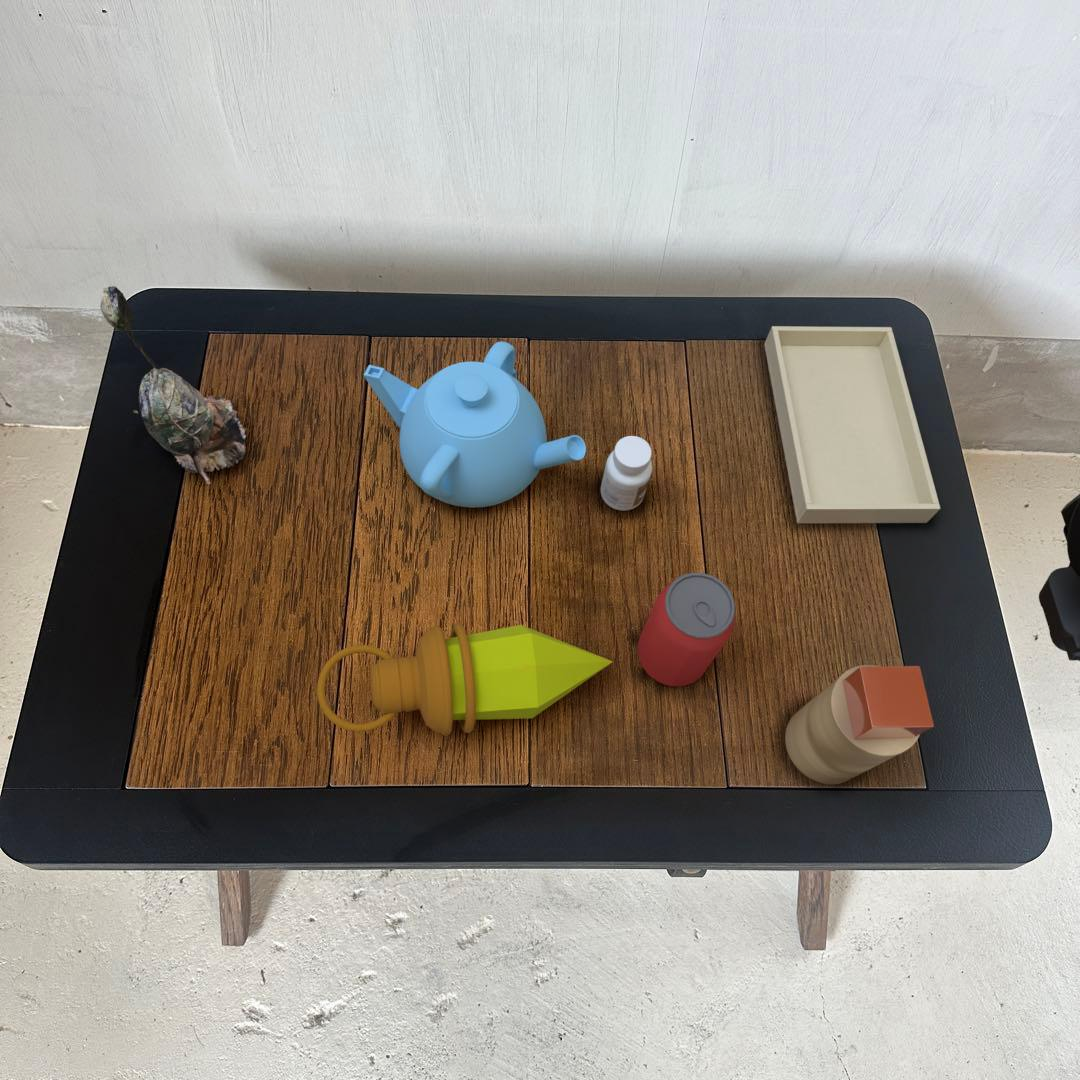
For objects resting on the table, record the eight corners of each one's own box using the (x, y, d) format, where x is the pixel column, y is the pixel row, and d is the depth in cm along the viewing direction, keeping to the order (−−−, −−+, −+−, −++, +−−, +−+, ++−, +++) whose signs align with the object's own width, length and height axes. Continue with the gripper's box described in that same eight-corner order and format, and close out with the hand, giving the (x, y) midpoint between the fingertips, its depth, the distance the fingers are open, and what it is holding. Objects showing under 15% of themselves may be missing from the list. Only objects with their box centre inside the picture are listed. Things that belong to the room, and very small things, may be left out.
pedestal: (872, 722, 75) (931, 685, 65) (854, 797, 72) (913, 770, 62) (796, 692, 76) (843, 650, 66) (775, 765, 73) (821, 733, 63)
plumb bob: (592, 617, 79) (316, 644, 73) (620, 600, 71) (310, 630, 65) (606, 715, 77) (323, 751, 71) (637, 711, 69) (318, 751, 63)
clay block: (912, 738, 63) (934, 726, 60) (853, 739, 63) (872, 727, 60) (899, 679, 65) (920, 665, 62) (842, 680, 65) (859, 666, 62)
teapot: (442, 556, 81) (435, 498, 71) (371, 420, 87) (355, 349, 77) (583, 494, 84) (595, 431, 74) (505, 368, 91) (506, 294, 81)
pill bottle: (644, 512, 84) (658, 472, 77) (600, 511, 84) (610, 470, 77) (643, 474, 86) (656, 431, 79) (599, 472, 86) (609, 429, 79)
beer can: (660, 701, 75) (687, 657, 65) (623, 638, 78) (643, 586, 67) (721, 669, 77) (758, 621, 66) (683, 608, 79) (713, 553, 69)
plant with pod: (156, 496, 82) (61, 367, 64) (173, 399, 87) (90, 255, 69) (242, 495, 83) (171, 366, 65) (254, 399, 88) (192, 255, 70)
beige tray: (926, 523, 85) (940, 508, 82) (797, 523, 84) (806, 509, 81) (880, 344, 95) (891, 326, 92) (764, 344, 94) (771, 325, 91)
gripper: (1060, 443, 55) (945, 548, 69) (1162, 731, 46) (1008, 784, 60) (1224, 443, 55) (1077, 548, 69) (1354, 728, 47) (1157, 781, 61)
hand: (1076, 657), depth 65 cm, fingers open, 9 cm apart
